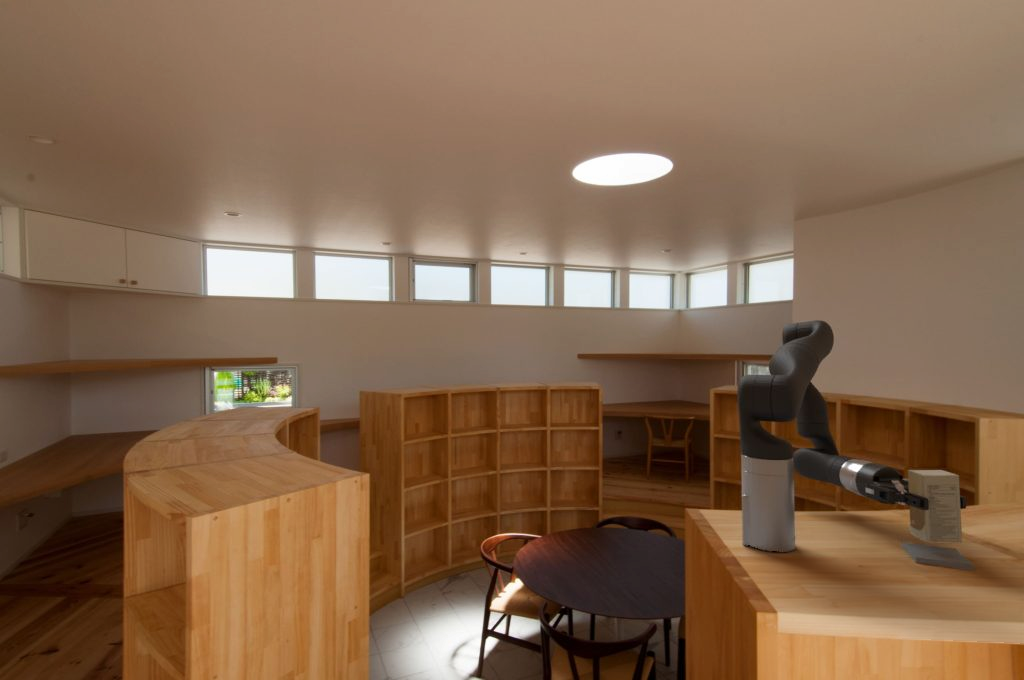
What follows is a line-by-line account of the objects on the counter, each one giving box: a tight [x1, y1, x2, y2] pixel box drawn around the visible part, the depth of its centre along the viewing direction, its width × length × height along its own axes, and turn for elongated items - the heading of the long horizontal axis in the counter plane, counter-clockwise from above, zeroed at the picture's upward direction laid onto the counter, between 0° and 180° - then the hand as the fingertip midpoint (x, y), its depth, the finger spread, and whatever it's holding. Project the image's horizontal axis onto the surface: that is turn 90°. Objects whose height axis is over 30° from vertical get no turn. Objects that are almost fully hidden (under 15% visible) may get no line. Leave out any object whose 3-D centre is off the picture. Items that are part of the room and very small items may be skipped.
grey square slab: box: [901, 541, 975, 571], centre depth 90 cm, size 8×8×1 cm
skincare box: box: [907, 469, 963, 544], centre depth 91 cm, size 6×4×12 cm
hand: (945, 503), depth 89 cm, fingers closed on skincare box, 6 cm apart
